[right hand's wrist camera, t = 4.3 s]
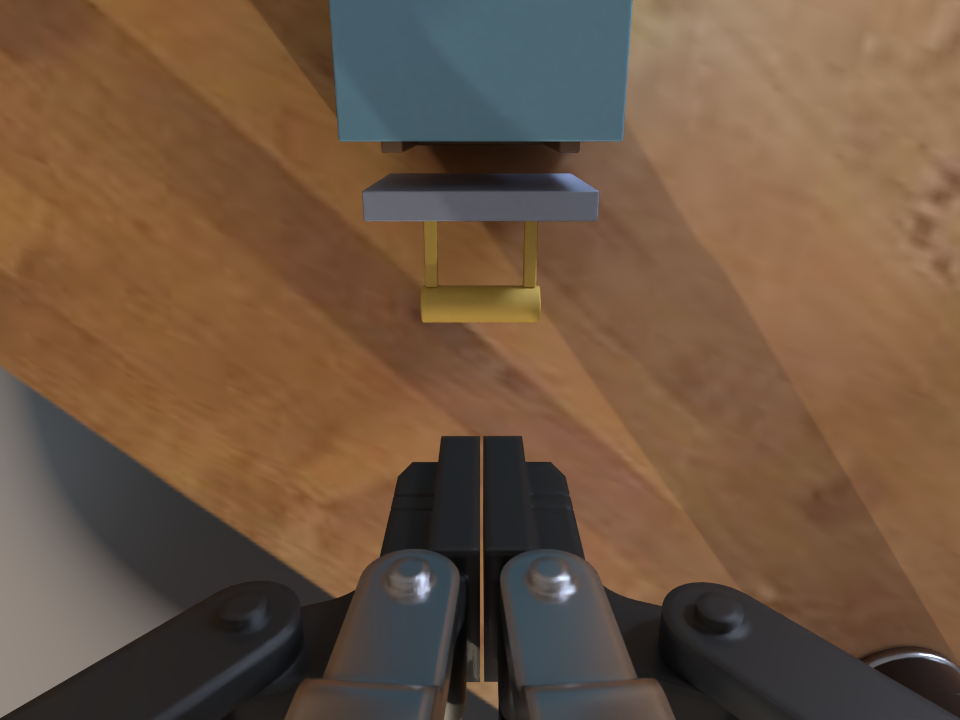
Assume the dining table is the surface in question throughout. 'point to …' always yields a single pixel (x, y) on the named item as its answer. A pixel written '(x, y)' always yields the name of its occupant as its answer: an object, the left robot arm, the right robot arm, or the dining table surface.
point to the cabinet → (480, 69)
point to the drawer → (480, 202)
